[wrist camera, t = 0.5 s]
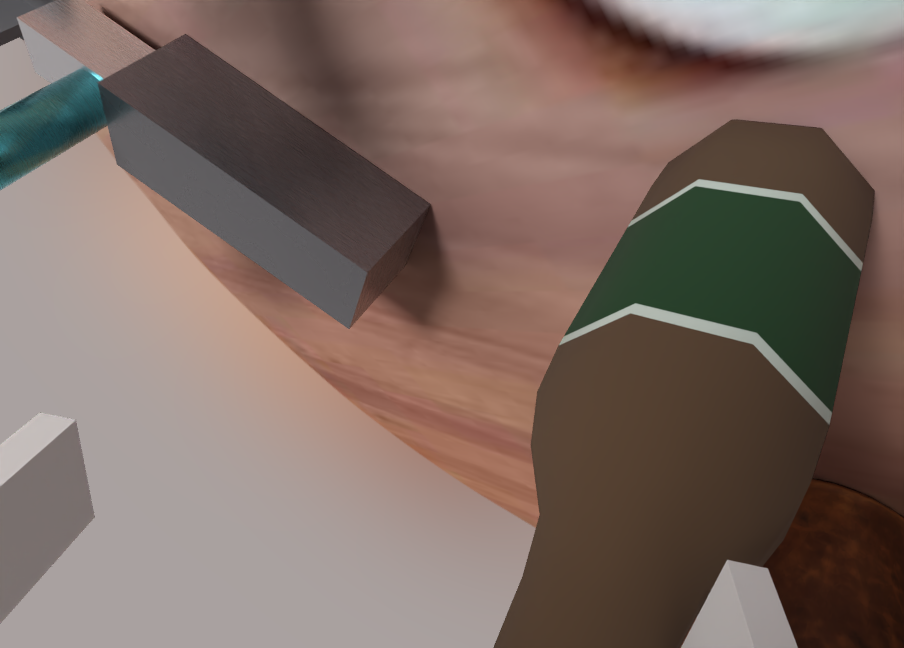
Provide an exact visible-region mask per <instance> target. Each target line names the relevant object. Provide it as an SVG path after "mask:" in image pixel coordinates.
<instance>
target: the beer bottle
mask: <svg viewBox="0 0 904 648" xmlns="http://www.w3.org/2000/svg"><path fill="white" fill-rule="evenodd" d="M873 202H874V189H873V188H872V187H871V186H870V185H869V183H868V182H867V181H866V180H865V179H864V178H863V176H862V175H861V174H860V173H859V172H858V170H857V169H856V168H855V167H854V166H853V165H852V163H851V162H850V161H849V160H848V159H847V157H846V156H845V155H844V154H843V153H842V151H841V150H840V149H839V148H838V147H837V146H836V144H835V143H834V142H833V141H832V140H831V138H830V137H829V136H828V135H827V134H826V132H825V131H824V130H823V129H822V128H816V127H806V126H796V125H786V124H775V123H765V122H755V121H745V120H731V121H729V122H728V123H726V124H725V125H723V126H722V127H720V128H719V129H717V130H716V131H714V132H713V133H711V134H710V135H709V136H707V137H706V138H704V139H703V140H701V141H700V142H698V143H697V144H695V145H694V146H692V147H691V148H689V149H688V150H686V151H685V152H684V153H682V154H681V155H679V156H678V157H676V158H675V159H673V160H672V161H670V162H669V163H668V164H667V165H666V167H665V168H664V170H663V171H662V172H661V174H660V175H659V177H658V178H657V179H656V181H655V182H654V184H653V185H652V186H651V188H650V190H649V192H648V193H647V195H646V197H645V198H644V200H643V202H642V204H641V205H640V207H639V209H638V210H637V212H636V214H635V216H634V217H633V219H632V221H631V222H630V224H629V226H628V228H627V229H626V231H625V233H624V234H623V236H622V238H621V240H620V241H619V243H618V245H617V246H616V248H615V250H614V252H613V253H612V255H611V257H610V258H609V260H608V262H607V264H606V265H605V267H604V269H603V270H602V272H601V274H600V276H599V277H598V279H597V281H596V282H595V284H594V286H593V288H592V289H591V291H590V293H589V294H588V296H587V298H586V300H585V301H584V303H583V305H582V306H581V308H580V310H579V312H578V313H577V315H576V317H575V318H574V320H573V322H572V324H571V325H570V327H569V329H568V330H567V332H566V334H565V336H564V337H563V339H562V341H561V342H560V344H559V346H558V348H557V350H556V352H555V355H554V357H553V359H552V361H551V363H550V366H549V368H548V370H547V372H546V374H545V376H544V379H543V381H542V383H541V385H540V387H539V389H538V392H537V399H536V407H535V415H534V423H533V431H532V439H531V451H532V458H533V466H534V474H535V482H536V489H537V497H538V505H539V513H540V516H539V519H538V523H537V527H536V530H535V534H534V537H533V541H532V545H531V548H530V552H529V555H528V559H527V562H526V566H525V570H524V573H523V577H522V579H521V582H520V584H519V586H518V589H517V591H516V594H515V596H514V599H513V601H512V603H511V606H510V609H509V611H508V613H507V616H506V618H505V621H504V623H503V626H502V628H501V630H500V633H499V636H498V638H497V640H496V643H495V645H494V648H680V646H681V644H682V642H683V640H684V639H685V637H686V635H687V633H688V631H689V629H690V627H691V625H692V624H693V622H694V620H695V618H696V616H697V614H699V612H700V611H701V609H702V607H703V605H704V603H705V601H706V599H707V597H708V595H709V593H710V591H711V590H712V588H713V586H714V584H715V582H716V580H717V578H718V576H719V574H720V572H721V571H722V569H723V567H724V565H725V563H726V561H727V560H731V561H735V562H740V563H745V564H749V565H754V566H759V567H763V565H764V564H765V563H766V561H767V560H768V559H769V558H770V556H771V555H772V554H773V553H774V551H775V550H776V549H777V548H778V546H779V545H780V544H781V543H782V541H783V540H784V538H785V536H786V534H787V532H788V530H789V528H790V526H791V523H792V521H793V519H794V517H795V515H796V513H797V511H798V509H799V507H800V504H801V502H802V500H803V498H804V496H805V494H806V492H807V490H808V488H809V485H810V483H811V480H812V477H813V474H814V471H815V468H816V465H817V462H818V459H819V456H820V453H821V449H822V446H823V443H824V440H825V437H826V434H827V431H828V428H829V425H830V420H831V415H832V411H833V406H834V401H835V396H836V391H837V386H838V382H839V377H840V372H841V367H842V362H843V357H844V353H845V348H846V343H847V338H848V333H849V328H850V324H851V319H852V314H853V309H854V304H855V299H856V295H857V290H858V285H859V280H860V275H861V270H862V266H863V261H864V256H865V251H866V246H867V241H868V237H869V232H870V227H871V222H872V214H873Z"/></svg>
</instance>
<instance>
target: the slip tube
mask: <svg viewBox="0 0 904 648" xmlns="http://www.w3.org/2000/svg"><path fill="white" fill-rule="evenodd" d="M17 20H18V23H19V26H20V29H21V32H22V35H23V38H24V41H25V44H26V47H27V50H28V53H29V56H30V58H31V61H32V64H33V67H34V70H35V72H36V73H37V74H38V75H40V76H42V77H43V78H44V79H46V80H47V81H48V82H50V83H51V84H50V85H48V86H46V87H44V88H42V89H40V90H38V91H36V92H34V93H32V94H30V95H29V96H27V97H25V98H23V99H21V100H19V101H17V102H15V103H13V104H11V105H10V106H8V107H6V108H4V109H2V110H0V190H2V189H3V188H5V187H7V186H8V185H10V184H11V183H13V182H15V181H17V180H18V179H20V178H22V177H23V176H25V175H27V174H28V173H30V172H31V171H33V170H35V169H37V168H38V167H40V166H41V165H43V164H45V163H46V162H48V161H50V160H51V159H53V158H55V157H56V156H58V155H60V154H61V153H63V152H64V151H66V150H68V149H70V148H71V147H73V146H75V145H76V144H78V143H79V142H81V141H83V140H84V139H86V138H88V137H89V136H91V135H92V134H94V133H96V132H98V131H99V130H101V129H103V128H104V127H106V126H108V125H107V120H106V116H105V112H104V108H103V104H102V100H101V95H100V91H99V87H98V83H97V82H99V81H101V80H103V79H105V78H106V77H108V76H110V75H112V74H114V73H116V72H117V71H119V70H121V69H123V68H125V67H126V66H128V65H130V64H132V63H134V62H136V61H137V60H139V59H141V58H143V57H145V56H146V55H148V54H150V53H152V52H154V51H156V50H154V49H153V48H151V47H150V46H149V45H147V44H146V43H144V42H143V41H141V40H140V39H139V38H137V37H136V36H134V35H133V34H131V33H130V32H128V31H127V30H126V29H124V28H123V27H121V26H120V25H118V24H117V23H116V22H114V21H113V20H111V19H110V18H108V17H107V16H106V15H104V14H103V13H101V12H100V11H98V10H97V9H96V8H94V7H93V6H91V5H90V4H88V3H87V2H85V1H84V0H55V1H53V2H51V3H48V4H46V5H44V6H42V7H39V8H37V9H35V10H32V11H30V12H28V13H26V14H23V15H21V16H19V17H17Z"/></svg>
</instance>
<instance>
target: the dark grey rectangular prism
mask: <svg viewBox="0 0 904 648" xmlns="http://www.w3.org/2000/svg"><path fill="white" fill-rule="evenodd" d="M97 83H98V87H99V91H100V95H101V100H102V104H103V108H104V112H105V116H106V120H107V125H108V129H109V133H110V137H111V141H112V145H113V150H114V154H115V158H116V162H117V165H119V166H120V167H121V168H123V169H124V170H126V171H127V172H128V173H130V174H131V175H133V176H134V177H136V178H137V179H138V180H140V181H141V182H143V183H144V184H145V185H147V186H148V187H150V188H151V189H152V190H154V191H155V192H157V193H158V194H159V195H161V196H162V197H164V198H165V199H167V200H168V201H169V202H171V203H172V204H174V205H175V206H176V207H178V208H179V209H181V210H182V211H183V212H185V213H186V214H188V215H189V216H190V217H192V218H193V219H195V220H196V221H197V222H199V223H200V224H202V225H203V226H205V227H206V228H207V229H209V230H210V231H212V232H213V233H214V234H216V235H217V236H219V237H220V238H221V239H223V240H224V241H226V242H227V243H228V244H230V245H231V246H233V247H234V248H236V249H237V250H238V251H240V252H241V253H243V254H244V255H245V256H247V257H248V258H250V259H251V260H252V261H254V262H255V263H257V264H258V265H259V266H261V267H262V268H264V269H265V270H267V271H268V272H269V273H271V274H272V275H274V276H275V277H276V278H278V279H279V280H281V281H282V282H283V283H285V284H286V285H288V286H289V287H290V288H292V289H293V290H295V291H296V292H298V293H299V294H300V295H302V296H303V297H305V298H306V299H307V300H309V301H310V302H312V303H313V304H314V305H316V306H317V307H319V308H320V309H321V310H323V311H324V312H326V313H327V314H329V315H330V316H331V317H333V318H334V319H336V320H337V321H338V322H340V323H341V324H343V325H344V326H345V327H347V328H348V329H350V328H351V327H352V325H353V324H354V323H355V322H356V321H357V320H358V319H359V317H360V316H361V315H362V314H363V313H364V312H365V311H366V309H367V308H368V307H369V306H370V305H371V304H372V303H373V301H374V300H375V299H376V298H377V297H378V296H379V295H380V294H381V292H382V291H383V290H384V289H385V288H386V287H387V286H388V284H389V283H390V282H391V281H392V280H393V279H394V278H395V276H396V275H397V274H398V273H399V272H400V271H401V270H402V268H403V267H404V266H405V265H406V263H407V260H408V258H409V255H410V253H411V250H412V248H413V246H414V243H415V241H416V238H417V236H418V233H419V231H420V229H421V226H422V224H423V221H424V219H425V216H426V214H427V211H428V209H429V207H430V204H429V203H428V202H426V201H425V200H423V199H422V198H420V197H419V196H417V195H416V194H415V193H413V192H412V191H410V190H409V189H407V188H406V187H405V186H403V185H402V184H400V183H399V182H397V181H396V180H394V179H393V178H392V177H390V176H389V175H387V174H386V173H384V172H383V171H381V170H380V169H379V168H377V167H376V166H374V165H373V164H371V163H370V162H369V161H367V160H366V159H364V158H363V157H361V156H360V155H358V154H357V153H356V152H354V151H353V150H351V149H350V148H348V147H347V146H346V145H344V144H343V143H341V142H340V141H338V140H337V139H335V138H334V137H333V136H331V135H330V134H328V133H327V132H325V131H324V130H322V129H321V128H320V127H318V126H317V125H315V124H314V123H312V122H311V121H310V120H308V119H307V118H305V117H304V116H302V115H301V114H299V113H298V112H297V111H295V110H294V109H292V108H291V107H289V106H288V105H286V104H285V103H284V102H282V101H281V100H279V99H278V98H276V97H275V96H274V95H272V94H271V93H269V92H268V91H266V90H265V89H263V88H262V87H261V86H259V85H258V84H256V83H255V82H253V81H252V80H250V79H249V78H248V77H246V76H245V75H243V74H242V73H240V72H239V71H238V70H236V69H235V68H233V67H232V66H230V65H229V64H227V63H226V62H225V61H223V60H222V59H220V58H219V57H217V56H216V55H215V54H213V53H212V52H210V51H209V50H207V49H206V48H204V47H203V46H202V45H200V44H199V43H197V42H196V41H194V40H193V39H191V38H190V37H189V36H187V35H186V34H185V35H183V36H181V37H179V38H177V39H175V40H174V41H172V42H170V43H168V44H166V45H165V46H163V47H161V48H159V49H157V50H156V51H154V52H152V53H150V54H148V55H146V56H145V57H143V58H141V59H139V60H137V61H136V62H134V63H132V64H130V65H128V66H126V67H125V68H123V69H121V70H119V71H117V72H116V73H114V74H112V75H110V76H108V77H106V78H105V79H103V80H101V81H99V82H97Z"/></svg>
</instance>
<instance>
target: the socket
mask: <svg viewBox="0 0 904 648" xmlns="http://www.w3.org/2000/svg"><path fill="white" fill-rule="evenodd" d="M53 1H55V0H0V46H1V45H3V44H6V43H8V42H10V41H12V40H14V39H16V38H19V37H20V38H21V39H23V40H24V38H23V35H22V32H21V29H20V26H19V23H18V20H17V17H19V16H21V15H23V14H26V13H28V12H30V11H32V10H35V9H37V8H39V7H42V6H44V5H46V4H48V3H51V2H53Z"/></svg>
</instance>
